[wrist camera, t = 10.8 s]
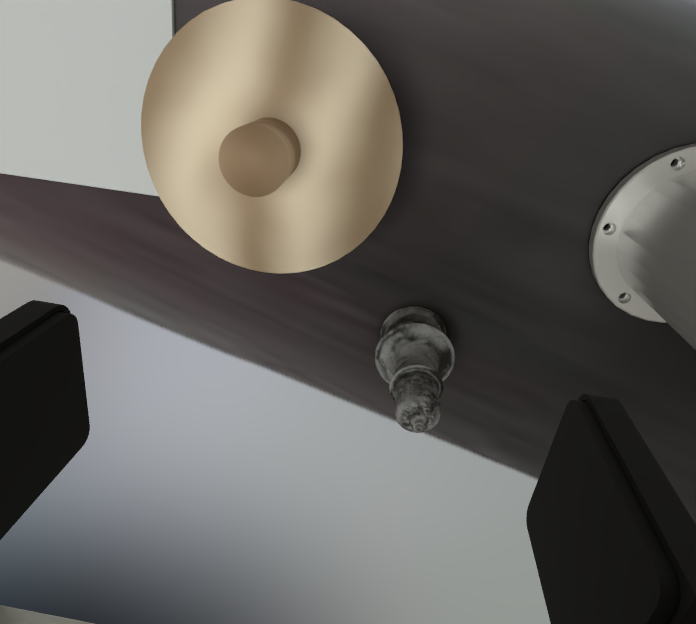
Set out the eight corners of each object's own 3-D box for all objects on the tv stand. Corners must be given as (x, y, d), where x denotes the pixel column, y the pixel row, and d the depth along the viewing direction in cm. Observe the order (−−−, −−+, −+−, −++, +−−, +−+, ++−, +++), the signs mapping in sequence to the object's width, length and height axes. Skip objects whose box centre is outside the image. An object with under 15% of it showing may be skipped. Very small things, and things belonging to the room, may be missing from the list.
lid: (424, 18, 27) (430, 9, 22) (381, 284, 33) (379, 316, 29) (139, -20, 27) (91, -35, 23) (153, 251, 34) (117, 279, 29)
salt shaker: (362, 324, 41) (350, 416, 31) (426, 289, 40) (438, 373, 29) (400, 378, 43) (401, 482, 33) (463, 347, 42) (487, 446, 31)
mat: (172, -86, 31) (169, -88, 30) (177, 197, 38) (175, 198, 38) (-107, -124, 31) (-113, -126, 31) (-47, 164, 38) (-52, 165, 38)
